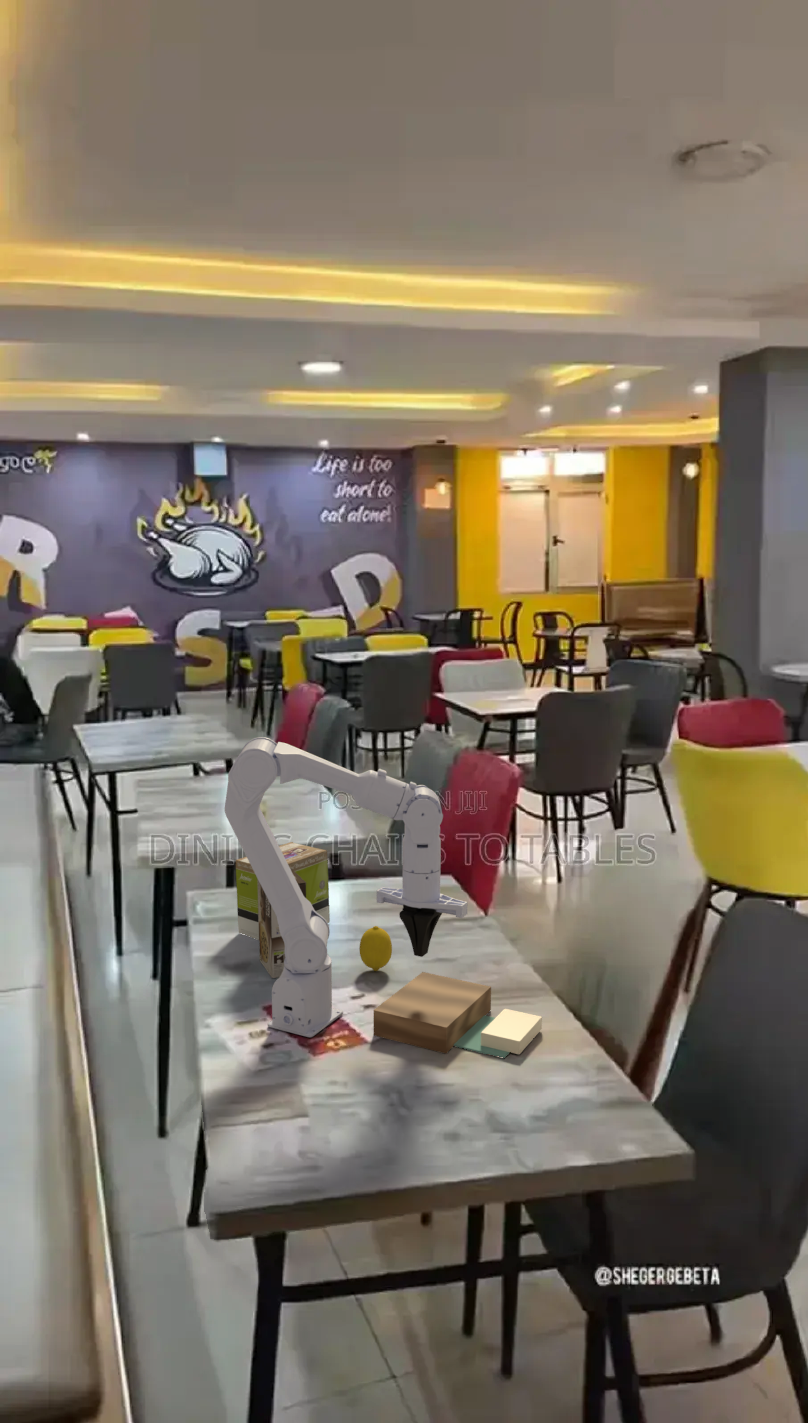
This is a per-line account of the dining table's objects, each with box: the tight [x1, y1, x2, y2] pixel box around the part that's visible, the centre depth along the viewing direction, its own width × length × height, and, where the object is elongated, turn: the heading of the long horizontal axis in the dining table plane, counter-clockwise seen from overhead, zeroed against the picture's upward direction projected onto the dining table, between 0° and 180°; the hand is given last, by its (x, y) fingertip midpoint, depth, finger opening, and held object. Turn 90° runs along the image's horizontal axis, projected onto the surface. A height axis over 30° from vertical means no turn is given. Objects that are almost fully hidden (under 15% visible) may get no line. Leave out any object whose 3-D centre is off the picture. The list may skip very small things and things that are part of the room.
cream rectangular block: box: [481, 1008, 543, 1055], centre depth 159 cm, size 9×6×2 cm, turn 152°
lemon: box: [358, 925, 393, 972], centre depth 183 cm, size 6×6×8 cm
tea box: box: [235, 841, 331, 941], centre depth 202 cm, size 15×10×15 cm
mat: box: [454, 1015, 511, 1059], centre depth 160 cm, size 11×8×1 cm
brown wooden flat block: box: [373, 971, 492, 1054], centre depth 164 cm, size 16×12×4 cm
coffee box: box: [257, 868, 306, 979], centre depth 184 cm, size 9×6×16 cm
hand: (420, 953), depth 164 cm, fingers closed
